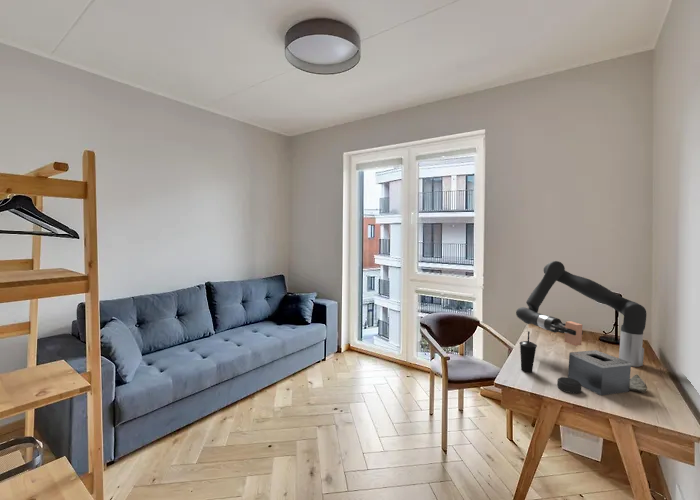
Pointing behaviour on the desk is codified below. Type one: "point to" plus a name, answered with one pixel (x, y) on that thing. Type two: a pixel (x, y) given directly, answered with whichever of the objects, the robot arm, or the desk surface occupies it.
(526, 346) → the drinking cup
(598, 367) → the coin box
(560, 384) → the smart speaker
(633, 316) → the robot arm
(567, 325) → the salmon orange block
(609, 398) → the desk surface
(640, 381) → the rock sample
